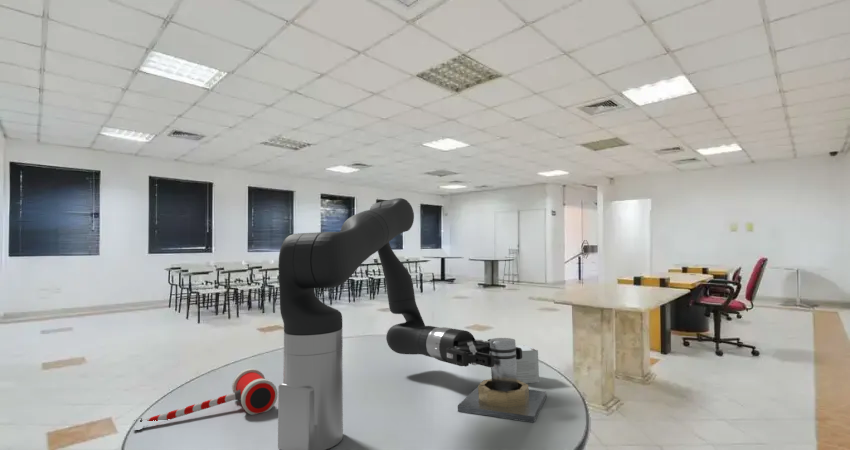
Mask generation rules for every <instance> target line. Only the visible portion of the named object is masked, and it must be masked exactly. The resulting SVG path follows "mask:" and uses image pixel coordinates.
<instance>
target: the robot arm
mask: <svg viewBox="0 0 850 450" xmlns="http://www.w3.org/2000/svg"><path fill="white" fill-rule="evenodd" d="M414 220H415V213H414V209H413V207H412V205H411V203H410V202H409V201H408V200H406V199H405V198H402V197H399V198H397V197H396V198H392V199H387V200H383V201H379V202H375V203H373V204H371V206H370V208H369V209H366V210H364V211H360V212H358V213H356V214H354V215H351V216H350V217H349V218H347V219H346V220H345V221H344V222H343V223H342V225H341V227H340V231H324V232H320V231H319V232H300V233H299V232H297V233H293V234H290V235H288V236H286V237H285V239H284V240H283V242H282V244H281V246H280V250H279V255H278V265H277V266H278V286H279V309H280V310H279V311H280V316H281V319H282V323H283V377H282V378H283V382H282V383H280V384H279V385H278V389H277V399H278V401H277V402H278V407H277V408H278V409H277V413H278V414H277V449H278V450H328V449H331V448H333V447H335V446H337V445H339V443H340V442H342V440H343V438H344V420H343V419H344V414H343V413H344V409H343V408H344V405H343V404H344V403H343V401H344V400H343V399H344V398H343V397H344V395H343V392H344V391H343V387H344V386H343V385H344V383H343V380H344V379H343V377H344V376H343V373H344V372H343V369H344V368H343V366H344V364H343V360H344V359H343V314H342V313H341V311H340V310H338V309H337V308H334V307H331V306H329V305H327V304H326V303H324V302H323V301H321V300H320V299H319V298H318V297H317V295H316V292H315V289H332V288H337V287H339V286H341V285H343V284H345V283H346V282H347V281H348V280H349V279H350V278H351V277H352V276H353V275H354V273H355V272H356V271H357V269H358V268H359V267H360V266H361V265H362V264H363V262H365V261H366V260H367V259H369V258H370V257H371V256H372V255H374V254H375V253H378V257H379V261H380V265H381V267H382V271H383V274H384V281H385V286H386V287H385V288H386V293H387V301H388V307H389V311H390V312H391V313H392V314H395V315H402V316H403V318H404V320H405V322H401V323H397V324H393V325H392V326H391V327H390V328H389V329H388V330H387V332H386V338H385V340H386V343H387V346H388V347H389V349H390V350H392V352H394V353H397V354H400V355H423V356H425V357H430V358H433V359H435V360H437V361H441V362H444V363H448V364H451V365H456V366H459V367H469V365H471V366H477V365H479V366H481V367H482V366H484V367H486V368H487V367H488V368H491V367H494V356H493V355H490V339H491V338H489V339H487V340H483V339H475V337H474V335H473V334H472V333H471V331H468V330H463V329H457V328H453V327H452V328H451V327H447V326H446V327H444V326H443V327H438V326H432V325H425V322H424V319H423V317H422V315H421V313H420V310H419V307H418V305H417V302H416V294H415V289H414V283H413V279H412V277H411V273H410V272H409V271H408V269H407V268H406V267H405V265H404V264H403V263H402V261H400V259H399V257H397V255H396V253H395V251H394V250H393V249H392V247H391V245H390V242H391V241H392V240H394V239H395V238H396V237H397V236H399V235H400V234H403V233H405V232H409V231H410V230H411V228H412V227H413V225H414V222H415V221H414ZM516 354H517V357H516V359H518V360H519V359H522V349H521V348H518V347H516Z"/></svg>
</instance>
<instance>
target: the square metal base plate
mask: <svg viewBox="0 0 850 450" xmlns="http://www.w3.org/2000/svg"><path fill="white" fill-rule="evenodd" d="M517 381H518V390H513V391H498V390H492V378H489V379H484V380H483V381H481V382H480V383H479V384H478V386H477V387H475V389H474V390H473V391H471V392H470V393H469V394H468V395H467V396H466V397H465V398H464V399H463V400H462V401H461V402H460V403H459V404H458V405H457V412H459V413H460V412H461V413H465V414H466V413H467V414H473V415H480V416H488V417H492V418H493V417H494V418H500V419H507V420H508V419H509V420H515V421H521V422H527V423H536V419H538V418H537V417H538V415H539V413H540V412H541V409H542V407H543V405H544V402H545V401H546V399H545V398H547V391H544V390H538V389H537V390H536V389H535V390H534V389H530V388H529V383H523V382H521V381H519V380H517Z"/></svg>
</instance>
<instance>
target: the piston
mask: <svg viewBox="0 0 850 450" xmlns="http://www.w3.org/2000/svg"><path fill="white" fill-rule="evenodd" d="M489 339H490V355H493V356H494V367H490V372H491V373H490V374H491V379H492V390H498V391H513V390H518V381H517V363H516V357H517V354H516V340H515V338H511V337H495V338H489Z"/></svg>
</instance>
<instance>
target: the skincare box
mask: <svg viewBox="0 0 850 450" xmlns="http://www.w3.org/2000/svg"><path fill="white" fill-rule="evenodd" d="M515 345H516V344H515ZM516 347H518V348H521V349H522V359H519V360H518V359H516V363H517V380H519V381H521V382H523V383H525V384H532V383H539V382H540V371H539V367H540V366H539V350H538V349H536V348H535V347H532V346H530V345H527V344H519V345H518V344H517V345H516Z"/></svg>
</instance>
